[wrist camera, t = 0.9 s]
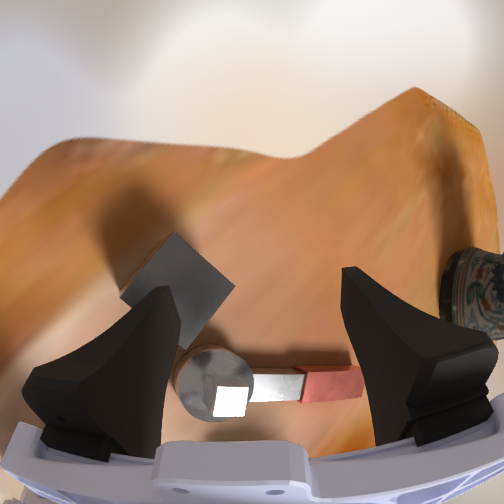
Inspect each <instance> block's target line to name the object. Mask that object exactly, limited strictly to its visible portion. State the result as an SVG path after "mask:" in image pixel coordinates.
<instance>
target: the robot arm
mask: <svg viewBox="0 0 504 504" xmlns="http://www.w3.org/2000/svg"><path fill="white" fill-rule="evenodd" d="M340 308H341V312H342V316H343V320H344V324H345V328H346V331H347V333H348V336H349V338H350V341H351V344H352V346H353V349H354V351H355V354H356V357H357V359H358V362H359V365H360V367H361V371H362V374H363V377H364V382H365V386H366V390H367V395H368V400H369V405H370V410H371V416H372V422H373V428H374V435H375V444H376V447H372V448H368V449H363V450H358V451H353V452H347V453H342V454H336V455H329V456H323V457H315V458H308V453H307V452H306V450H305V449H304V448H303V446H301V445H299V444H296V443H292V442H289V441H283V440H259V441H229V442H208V441H172V442H166V443H164V444H162V445H161V429H162V417H163V408H164V400H165V393H166V388H167V383H168V379H169V376H170V372H171V369H172V365H173V361H174V358H175V354H176V351H177V347H178V343H179V337H180V330H181V320H180V317H179V314H178V311H177V308H176V305H175V301H174V298H173V295H172V292H171V289H170V285H168V286H156V287H155V288H154V289H153V290H151V291H150V292H149V293H148V294H147V295H146V296H145V297H144V298H143V299H142V300H141V301H139V302H138V303H137V304H136V305H135V306H134V307H133V308H132V309H131V310H130V311H129V312H128V313H127V314H125V315H124V316H123V317H122V318H121V319H120V320H118V321H117V322H116V323H115V324H114V325H113V326H111V327H110V328H109V329H107V330H106V331H105V332H103V333H102V334H101V335H99V336H98V337H96V338H95V339H93V340H92V341H90V342H89V343H87V344H85V345H84V346H82V347H80V348H79V349H77V350H75V351H73V352H71V353H69V354H67V355H65V356H63V357H61V358H59V359H56V360H54V361H52V362H49V363H46V364H43V365H41V366H38V367H35V368H34V369H33V370H32V372H31V374H30V376H29V377H28V379H27V381H26V383H25V384H24V386H23V388H22V395H23V397H24V399H25V401H26V403H27V404H28V405H29V407H30V408H31V409H32V410H33V411H34V412H35V413H36V414H37V416H38V417H39V418H40V419H41V420H42V421H43V422H44V423H45V424H46V425H45V428H44V430H42V429H41V428H39V427H37V426H34V425H31V424H28V423H24V422H21V421H20V422H19V423H18V425H17V427H16V429H15V431H14V433H13V435H12V437H11V440H10V442H9V444H8V446H7V449H6V451H5V453H4V455H3V458H2V460H1V463H0V467H1V468H2V469H3V470H4V471H6V472H7V473H8V474H10V475H11V476H12V477H14V478H15V479H16V480H18V481H19V482H20V483H22V484H23V485H24V488H23V491H22V495H21V499H20V501H19V500H17V499H15V498H12V499H11V500H10V499H9V500H5V501H4V503H3V504H441V503H444V502H446V501H448V500H450V499H452V498H455V497H457V496H459V495H461V494H463V493H465V492H467V491H469V490H471V489H473V488H475V487H476V486H479V485H480V484H482V483H484V482H486V481H488V480H490V479H491V478H493V477H495V476H497V475H499V474H500V473H502V472H504V393H502V394H500V395H498V396H496V397H494V398H493V399H492V400H491V401H490V402H489V400H488V399H487V397H486V395H487V394H488V393H489V390H488V388H487V386H486V384H485V383H486V382H487V380H488V378H489V376H490V374H491V373H492V371H493V369H494V367H495V365H496V363H497V360H498V353H499V352H498V349H497V347H496V346H495V344H494V343H493V341H492V340H491V339H490V337H489V336H488V334H487V333H486V332H484V331H480V330H475V329H471V328H466V327H462V326H459V325H456V324H453V323H449V322H447V321H444V320H441V319H439V318H436V317H434V316H432V315H429V314H427V313H425V312H423V311H421V310H419V309H417V308H415V307H413V306H412V305H410V304H408V303H406V302H405V301H403V300H401V299H400V298H398V297H397V296H395V295H394V294H392V293H391V292H389V291H388V290H387V289H385V288H384V287H383V286H381V285H380V284H379V283H377V282H376V281H375V280H373V279H372V278H371V277H369V276H368V275H367V274H366V273H364V272H363V271H362V270H361V269H359V268H358V267H356V266H354V267H345V268H342V283H341V307H340Z"/></svg>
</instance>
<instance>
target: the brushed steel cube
mask: <svg viewBox="0 0 504 504" xmlns="http://www.w3.org/2000/svg"><path fill="white" fill-rule="evenodd" d="M168 285H170V289H171V292H172V295H173V298H174V301H175V305H176V308H177V311H178V314H179V317H180V320H181V330H180V337H179V343H178V345H180V346H181V347H182V348H184V349H185V350H187V348H188V347H189V346H190V344H191V343H192V342H193V340H194V339H195V338H196V337H197V335H198V334H199V333H200V331H201V330H202V329H203V328H204V326H205V325H206V324H207V322H208V321H209V320H210V318H211V317H212V316H213V315H214V313H215V312H216V311H217V309H218V308H219V307H220V305H221V304H222V303H223V302H224V300H225V299H226V298H227V296H228V295H229V294H230V292H231V291H232V290H233V289H234V287H235V285H234V284H233V283H231V282H230V281H229V280H228V279H227V278H226V277H225V276H223V275H222V274H221V273H220V272H219V271H218V270H217V269H216V268H214V267H213V266H212V265H211V264H210V263H209V262H208V261H207V260H205V259H204V258H203V257H202V256H201V255H200V254H199V253H198V252H196V251H195V250H194V249H193V248H192V247H191V246H190V245H189V244H188V243H186V242H185V241H184V240H183V239H182V238H181V237H180V236H179V235H178V234H177V233H175V232H173V233H172V234H170V235H169V236H167V237H166V238H164V239H163V240H161V242H160V243H159V244H158V245H157V246H156V247H155V249H154V250H153V251H152V252H151V253H150V255H149V256H148V257H147V258H146V259H145V261H144V262H143V263H142V264H141V265H140V267H139V268H138V269H137V270H136V271H135V273H134V274H133V275H132V276H131V278H130V279H129V280H128V281H127V283H126V284H125V285H124V286H123V288H122V289H121V290H120V298H121V299H122V300H123V301H124V302H125V303H127V304H128V305H129V306H130V307H131V308H133V307H134V306H135V305H136V304H137V303H138V302H139V301H141V300H142V299H143V298H144V297H145V296H146V295H147V294H148V293H149V292H150V291H151V290H153V289H154V288H155V287H156V286H168Z"/></svg>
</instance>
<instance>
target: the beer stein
mask: <svg viewBox="0 0 504 504" xmlns="http://www.w3.org/2000/svg"><path fill="white" fill-rule="evenodd" d="M439 310H440V319H441V320H444V321H447V322H449V323H453V324H456V325H459V326H462V327H466V328H471V329H475V330H480V331H484V332H486V333H487V334H488V336H489V337H490V339H491V340H492V341H494V340H500V339H504V253H503V255H501V254H495V253H491V252H487V251H484V250H482V249H479V248H475V247H472V248H468V249H465V250H463V251H460V252H456V253H454V255H453V256H452V257H451V258H450V259H449V261H448V263H447V265H446V268H445V270H444V273H443V278H442V282H441V290H440V299H439Z"/></svg>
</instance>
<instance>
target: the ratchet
mask: <svg viewBox="0 0 504 504" xmlns="http://www.w3.org/2000/svg"><path fill="white" fill-rule="evenodd" d="M173 381H174V388H175V391H176V393H177V395H178V397H179V399H180V400H181V402H182V404H183V406H184V407H185V409H186V410H187V411H188V412H189V413H190V414H191V415H192V416H194V417H195V418H197V419H200V420H203V421H207V422H220V421H225V420H228V419H230V418H232V417H234V416H244V413H245V407H246V406H247V404H248V403H249V402H253V401H286V400H297V401H298V402H300V403H315V402H325V401H335V400H343V399H351V398H358V397H361V396H362V392H363V387H364V383H365V382H364V377H363V374H362V371H361V368H360V367H357V366H354V365H331V366H294V368H293V369H287V368H250V367H249V365H248V364H247V363H246V362H245V360H243V359H242V358H241V357H239V356H238V355H236V354H235V353H233V352H232V351H230V350H228V349H227V348H225V347H222V346H219V345H211V344H209V345H202V346H199V347H196V348H194V349H192V350H190V351H189V352H187V353H186V354H185V355H184V356H183V357H182V358H181V359H180V361H179V362H178V364H177V366H176V369H175V372H174V379H173Z"/></svg>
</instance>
